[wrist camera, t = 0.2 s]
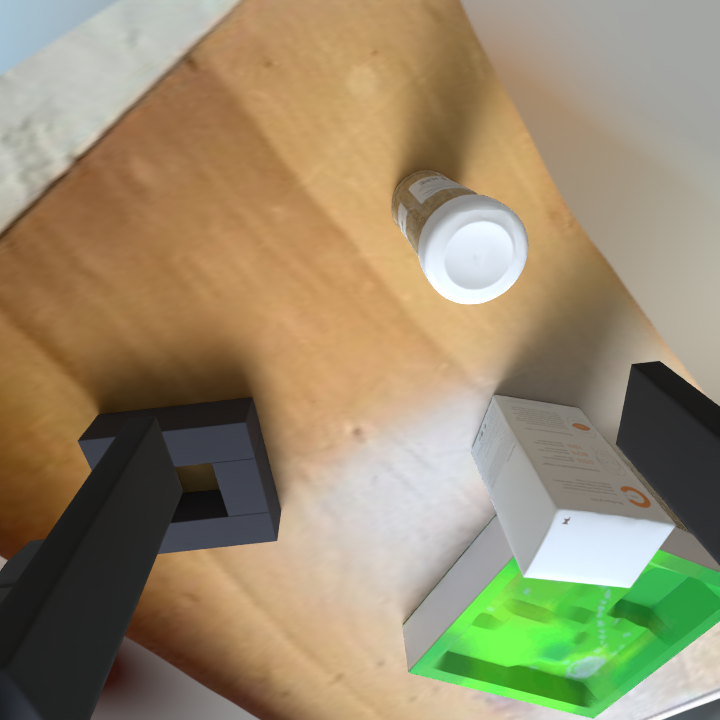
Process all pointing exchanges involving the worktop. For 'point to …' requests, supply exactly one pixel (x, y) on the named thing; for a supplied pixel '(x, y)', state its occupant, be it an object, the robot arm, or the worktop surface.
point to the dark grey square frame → (231, 466)
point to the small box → (566, 495)
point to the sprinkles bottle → (460, 237)
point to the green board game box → (560, 625)
